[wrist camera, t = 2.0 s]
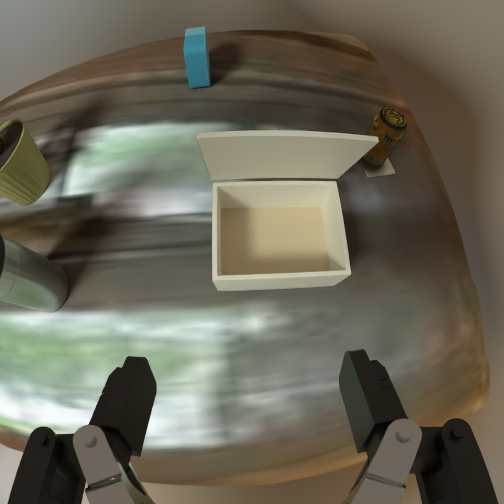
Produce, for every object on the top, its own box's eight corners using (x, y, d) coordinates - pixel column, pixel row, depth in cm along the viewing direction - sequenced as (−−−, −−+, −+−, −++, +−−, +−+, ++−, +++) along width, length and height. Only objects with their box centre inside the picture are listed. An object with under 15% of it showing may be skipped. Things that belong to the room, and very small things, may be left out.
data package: (191, 63, 60) (186, 26, 48) (209, 61, 60) (205, 24, 49) (190, 91, 56) (183, 50, 45) (210, 89, 57) (205, 47, 45)
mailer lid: (378, 142, 26) (377, 136, 26) (196, 138, 26) (196, 132, 26) (337, 178, 40) (337, 174, 40) (211, 179, 40) (211, 175, 40)
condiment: (377, 140, 53) (399, 103, 42) (395, 173, 51) (422, 138, 40) (349, 143, 53) (368, 103, 41) (366, 178, 50) (391, 140, 39)
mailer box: (333, 285, 44) (351, 274, 36) (218, 291, 44) (212, 280, 36) (323, 205, 48) (336, 181, 41) (217, 207, 48) (213, 182, 40)
